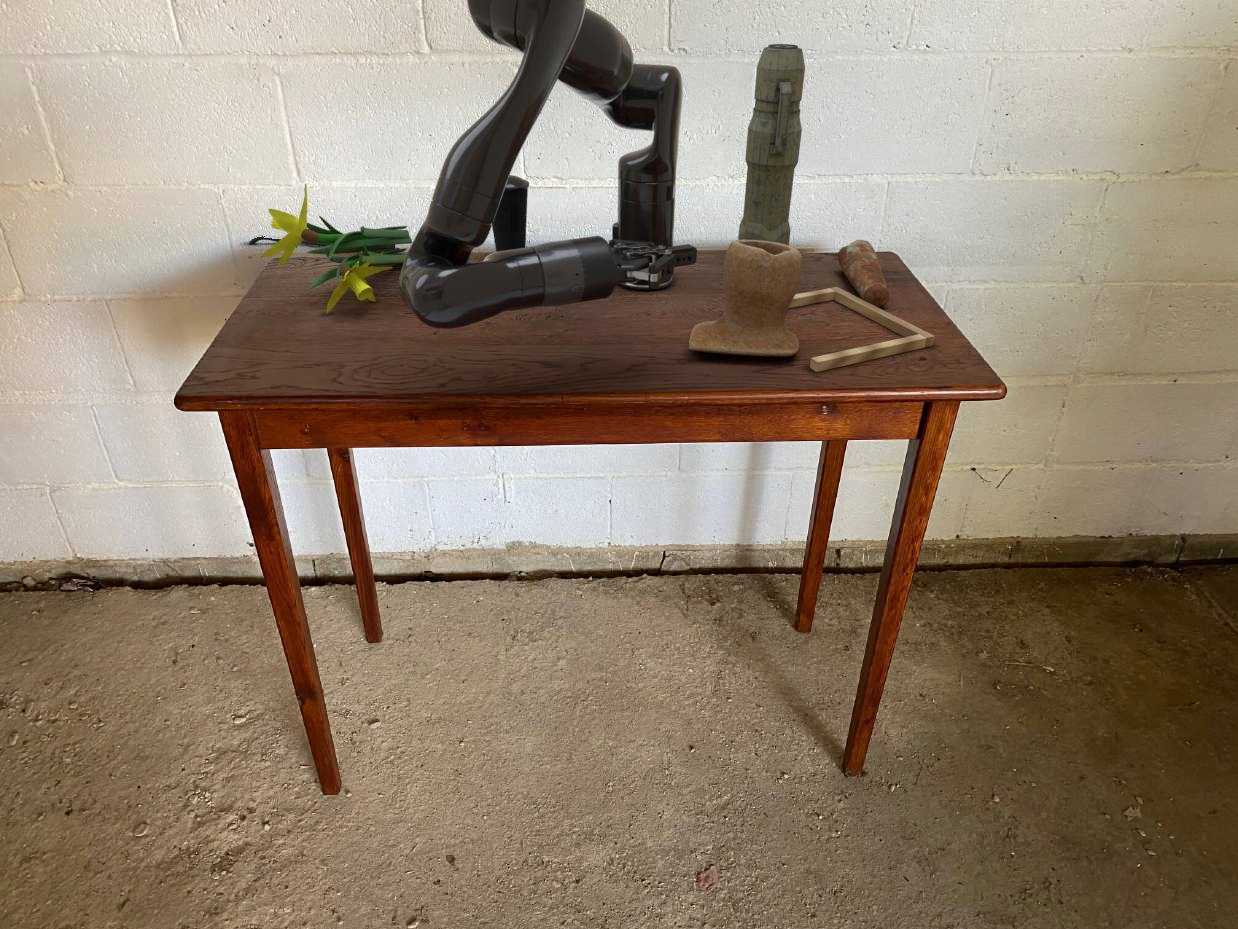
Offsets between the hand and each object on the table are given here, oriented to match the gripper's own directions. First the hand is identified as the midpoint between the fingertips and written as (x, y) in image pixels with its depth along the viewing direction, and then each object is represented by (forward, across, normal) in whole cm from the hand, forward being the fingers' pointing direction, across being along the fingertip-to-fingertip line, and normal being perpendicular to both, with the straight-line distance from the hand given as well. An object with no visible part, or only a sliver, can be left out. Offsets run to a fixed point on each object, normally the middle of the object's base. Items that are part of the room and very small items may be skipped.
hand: (693, 253), depth 107 cm
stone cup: (+9, 0, +15) cm, 17 cm away
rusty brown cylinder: (+41, +11, +15) cm, 45 cm away
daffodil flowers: (-35, +46, +15) cm, 60 cm away
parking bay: (+23, 0, +15) cm, 27 cm away
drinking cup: (-8, +49, +15) cm, 52 cm away
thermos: (+32, +30, +15) cm, 46 cm away
